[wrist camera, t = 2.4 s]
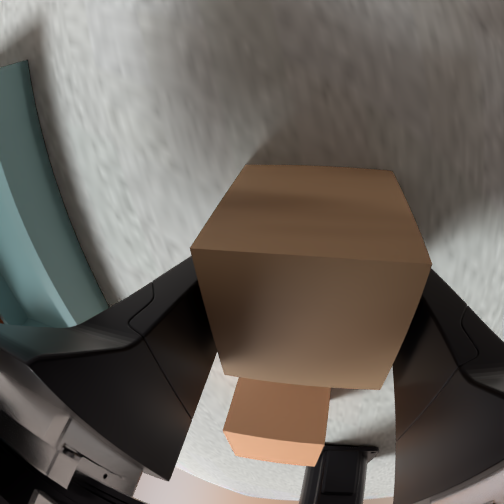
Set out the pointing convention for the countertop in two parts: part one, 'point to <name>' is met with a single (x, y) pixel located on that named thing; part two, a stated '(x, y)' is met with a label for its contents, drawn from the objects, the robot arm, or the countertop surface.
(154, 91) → the countertop surface
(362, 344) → the block walnut
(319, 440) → the block terracotta
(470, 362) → the robot arm
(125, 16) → the countertop surface
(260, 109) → the countertop surface
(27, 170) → the tray
